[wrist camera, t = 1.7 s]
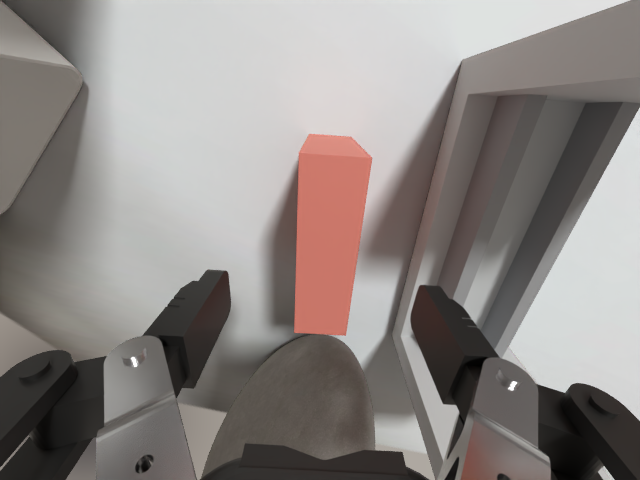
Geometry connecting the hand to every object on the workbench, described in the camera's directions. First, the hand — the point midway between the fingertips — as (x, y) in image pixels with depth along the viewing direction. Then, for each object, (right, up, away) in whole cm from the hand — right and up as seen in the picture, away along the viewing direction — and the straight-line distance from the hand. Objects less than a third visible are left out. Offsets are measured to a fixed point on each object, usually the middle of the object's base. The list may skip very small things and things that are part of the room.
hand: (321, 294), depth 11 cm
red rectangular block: (0, +5, +10) cm, 11 cm away
